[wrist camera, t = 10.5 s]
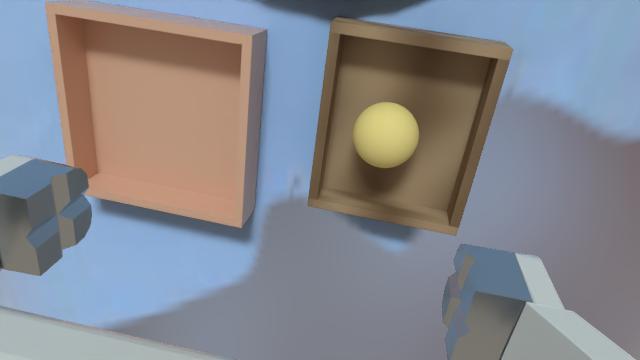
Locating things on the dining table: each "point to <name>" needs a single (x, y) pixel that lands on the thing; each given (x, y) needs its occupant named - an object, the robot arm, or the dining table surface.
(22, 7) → the dining table surface
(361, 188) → the tray
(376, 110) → the ball
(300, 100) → the dining table surface
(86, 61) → the dish
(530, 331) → the robot arm
